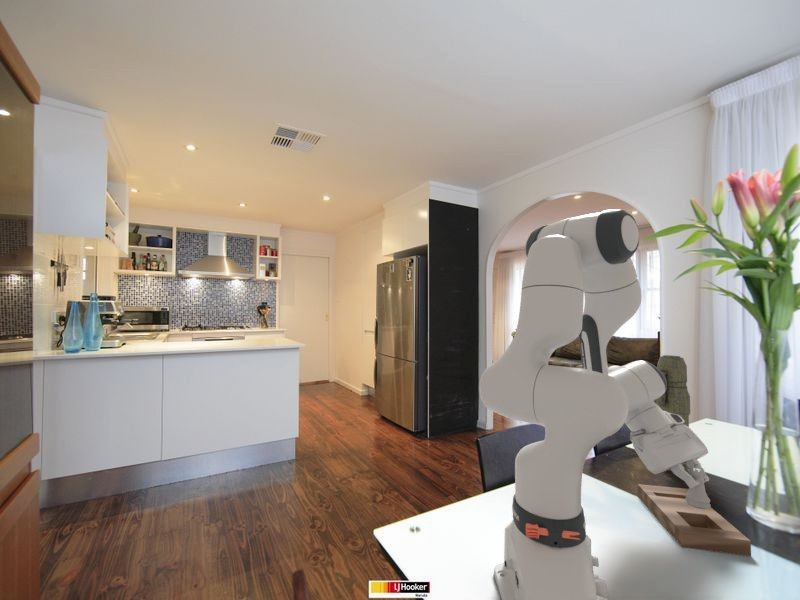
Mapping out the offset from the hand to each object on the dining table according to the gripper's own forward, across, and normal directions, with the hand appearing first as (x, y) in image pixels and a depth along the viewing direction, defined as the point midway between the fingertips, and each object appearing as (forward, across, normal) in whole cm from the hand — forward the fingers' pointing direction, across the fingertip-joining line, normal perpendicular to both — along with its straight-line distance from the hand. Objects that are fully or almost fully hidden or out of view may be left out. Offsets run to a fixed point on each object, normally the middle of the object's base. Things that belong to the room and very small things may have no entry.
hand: (700, 484), depth 80 cm
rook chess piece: (+3, 0, +4) cm, 5 cm away
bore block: (+5, +3, +11) cm, 12 cm away
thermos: (-7, +35, +24) cm, 43 cm away
